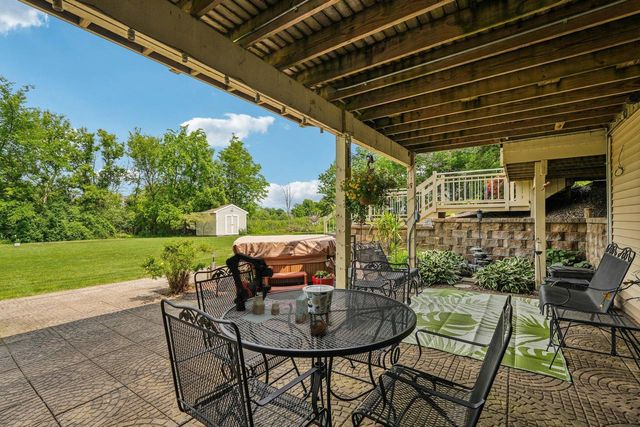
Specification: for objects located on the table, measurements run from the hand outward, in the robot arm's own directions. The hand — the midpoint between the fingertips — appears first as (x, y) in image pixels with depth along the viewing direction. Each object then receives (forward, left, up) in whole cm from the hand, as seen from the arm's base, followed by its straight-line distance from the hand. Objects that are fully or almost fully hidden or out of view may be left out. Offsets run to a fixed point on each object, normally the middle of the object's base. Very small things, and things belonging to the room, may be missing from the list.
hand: (258, 299), depth 200 cm
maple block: (0, 0, -4) cm, 4 cm away
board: (+5, -3, -11) cm, 12 cm away
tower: (+11, +5, -10) cm, 15 cm away
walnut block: (0, 0, -10) cm, 10 cm away
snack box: (+29, +13, -11) cm, 34 cm away
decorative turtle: (+52, -3, -11) cm, 53 cm away
